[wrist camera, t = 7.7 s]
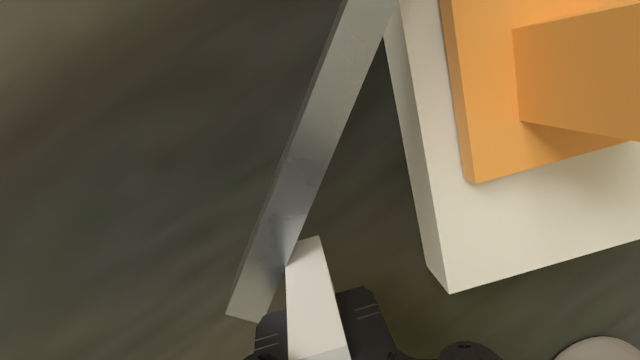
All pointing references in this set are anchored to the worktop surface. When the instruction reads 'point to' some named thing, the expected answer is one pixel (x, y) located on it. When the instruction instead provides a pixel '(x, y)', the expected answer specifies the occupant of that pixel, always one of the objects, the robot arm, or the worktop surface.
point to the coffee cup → (600, 350)
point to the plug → (541, 80)
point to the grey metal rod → (308, 153)
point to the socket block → (501, 193)
